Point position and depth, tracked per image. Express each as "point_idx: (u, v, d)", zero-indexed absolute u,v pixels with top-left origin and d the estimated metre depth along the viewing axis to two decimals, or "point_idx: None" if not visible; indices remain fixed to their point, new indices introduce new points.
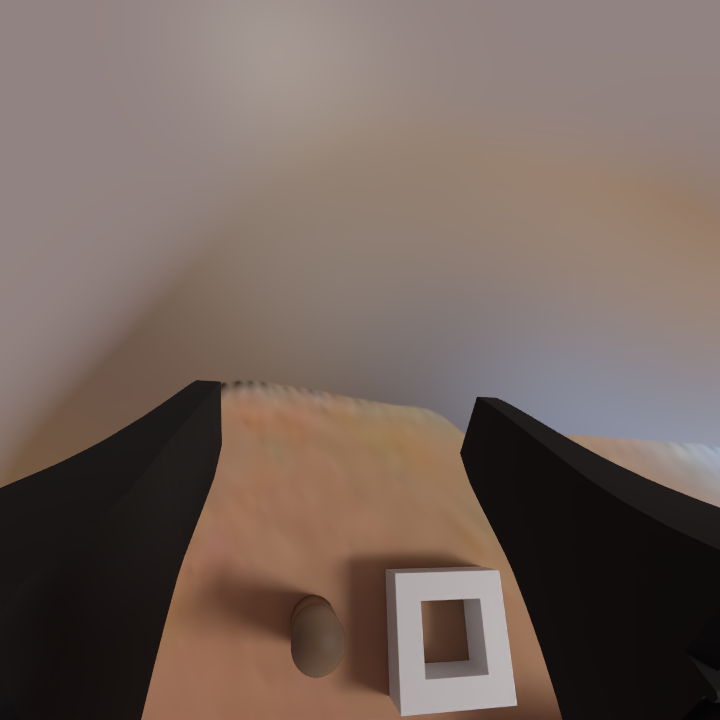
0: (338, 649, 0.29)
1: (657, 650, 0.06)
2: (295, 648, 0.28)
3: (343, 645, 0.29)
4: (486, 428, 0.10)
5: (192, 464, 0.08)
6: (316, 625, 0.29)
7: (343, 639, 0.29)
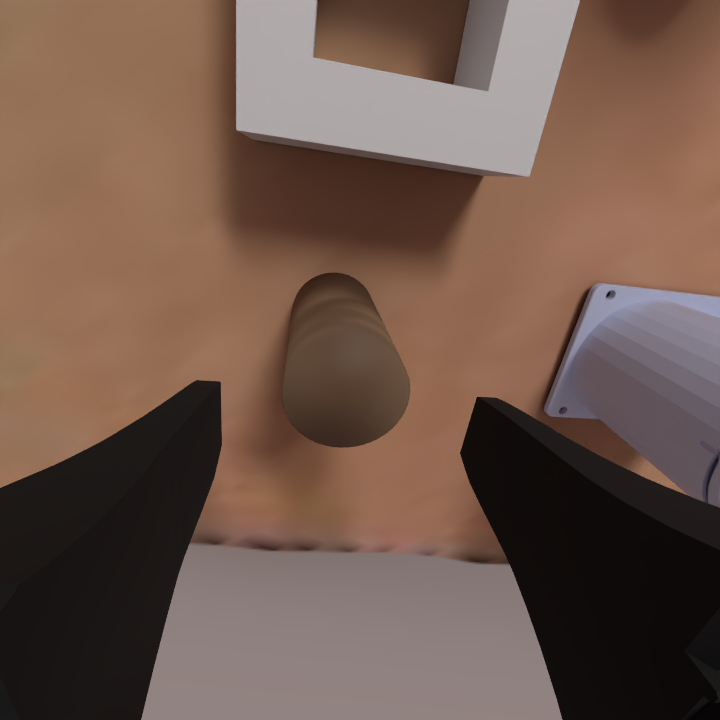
0: (366, 353, 0.12)
1: (657, 650, 0.06)
2: (347, 439, 0.13)
3: (360, 342, 0.11)
4: (486, 428, 0.10)
5: (192, 464, 0.08)
6: (309, 399, 0.12)
7: (348, 340, 0.11)
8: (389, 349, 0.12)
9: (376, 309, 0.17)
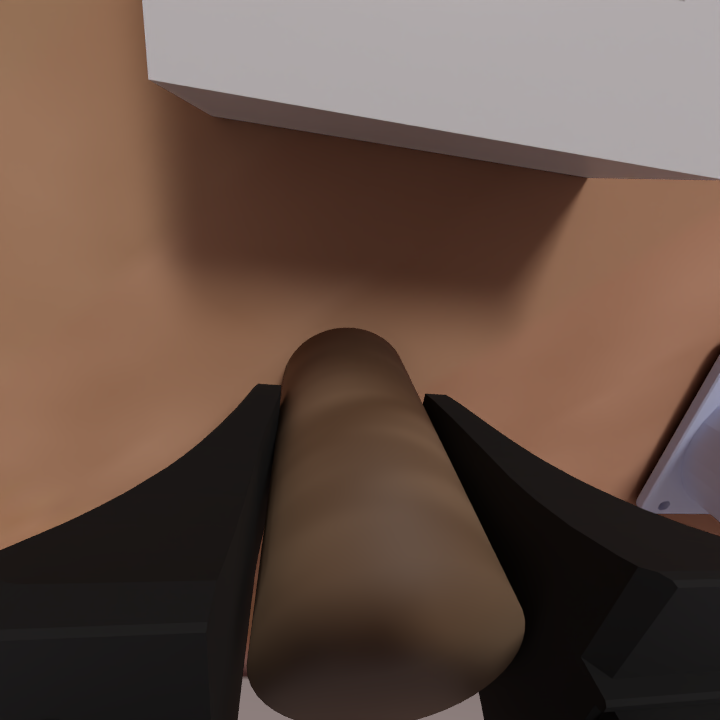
0: (440, 589, 0.05)
1: (559, 656, 0.05)
2: (386, 716, 0.06)
3: (429, 571, 0.05)
4: None
5: (267, 466, 0.08)
6: (309, 669, 0.05)
7: (400, 571, 0.05)
8: (490, 575, 0.05)
9: (419, 399, 0.10)
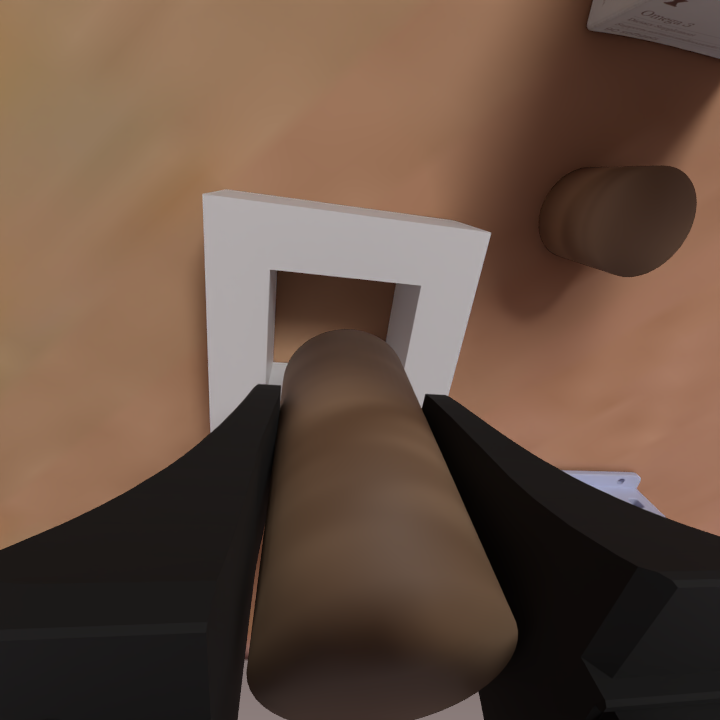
0: (436, 603, 0.05)
1: (559, 656, 0.05)
2: (381, 717, 0.07)
3: (426, 587, 0.05)
4: (431, 426, 0.10)
5: (267, 466, 0.08)
6: (306, 676, 0.06)
7: (398, 586, 0.05)
8: (485, 590, 0.05)
9: (418, 403, 0.10)
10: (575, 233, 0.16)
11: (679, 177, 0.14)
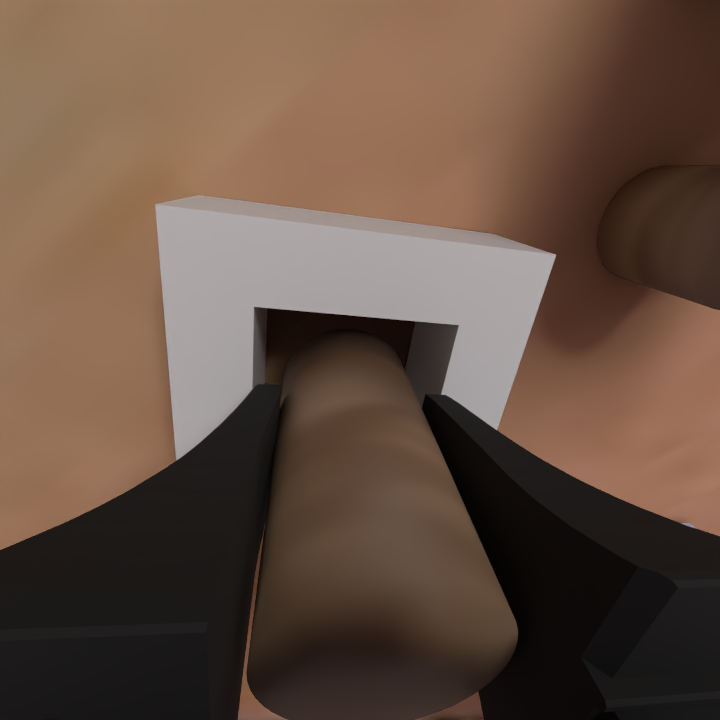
0: (436, 602, 0.05)
1: (559, 656, 0.05)
2: (381, 717, 0.06)
3: (426, 586, 0.05)
4: (431, 426, 0.10)
5: (267, 466, 0.08)
6: (307, 676, 0.06)
7: (398, 586, 0.05)
8: (485, 589, 0.05)
9: (418, 403, 0.10)
10: (657, 253, 0.12)
11: None
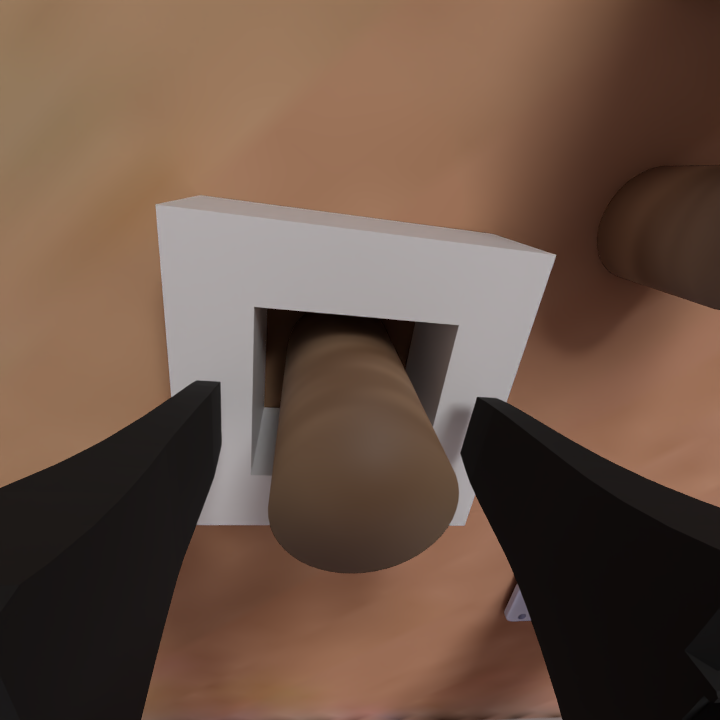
0: (398, 453, 0.08)
1: (657, 650, 0.06)
2: (364, 563, 0.09)
3: (390, 437, 0.07)
4: (486, 428, 0.10)
5: (192, 464, 0.08)
6: (310, 515, 0.08)
7: (371, 436, 0.07)
8: (432, 445, 0.08)
9: (397, 355, 0.12)
10: (657, 253, 0.12)
11: None
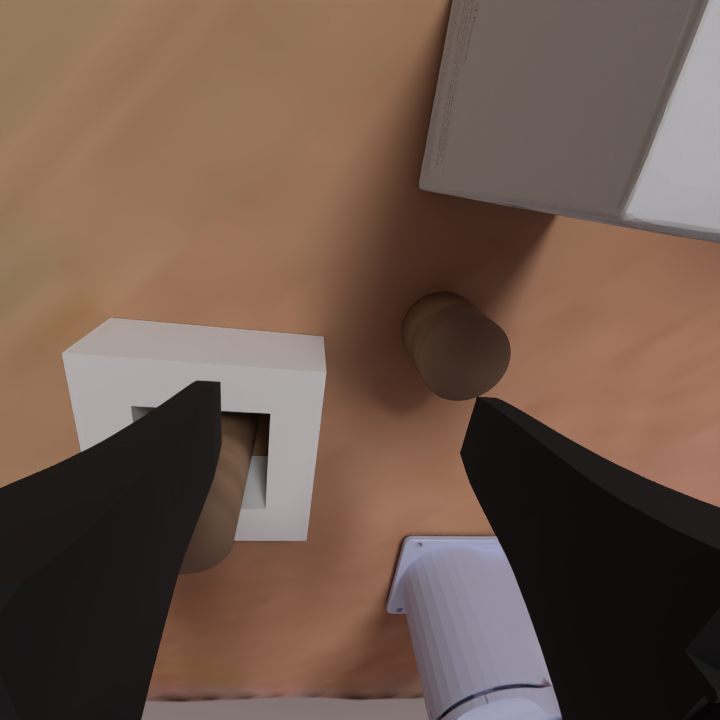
0: None
1: (657, 650, 0.06)
2: (184, 568, 0.15)
3: None
4: (486, 428, 0.10)
5: (192, 464, 0.08)
6: None
7: None
8: (208, 501, 0.14)
9: (244, 426, 0.18)
10: (415, 361, 0.18)
11: (489, 325, 0.16)
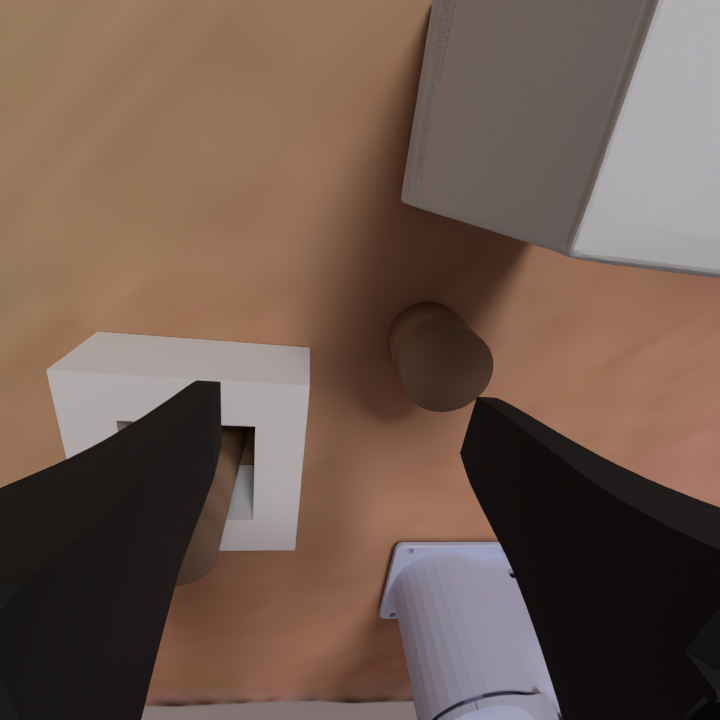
0: None
1: (657, 650, 0.06)
2: None
3: None
4: (486, 428, 0.10)
5: (192, 464, 0.08)
6: None
7: None
8: None
9: (231, 437, 0.19)
10: (399, 372, 0.18)
11: (471, 338, 0.16)
